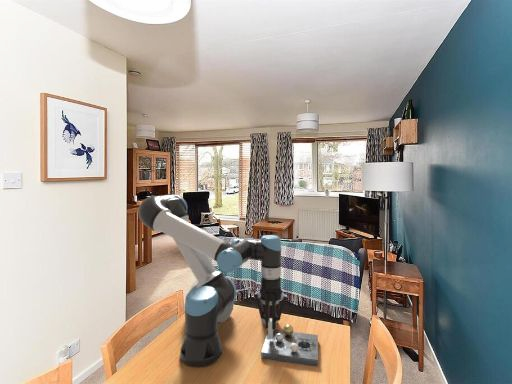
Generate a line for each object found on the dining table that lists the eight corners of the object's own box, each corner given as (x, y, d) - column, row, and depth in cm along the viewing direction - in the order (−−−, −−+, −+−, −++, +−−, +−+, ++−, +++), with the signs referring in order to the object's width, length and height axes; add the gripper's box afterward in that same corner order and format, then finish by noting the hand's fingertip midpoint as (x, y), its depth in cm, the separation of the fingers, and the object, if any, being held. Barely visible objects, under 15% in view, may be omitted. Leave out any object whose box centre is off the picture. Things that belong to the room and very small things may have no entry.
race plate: (261, 358, 106) (261, 352, 106) (268, 334, 122) (268, 329, 122) (317, 366, 102) (317, 359, 102) (317, 341, 118) (317, 335, 118)
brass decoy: (282, 336, 116) (282, 327, 116) (283, 331, 120) (284, 322, 120) (292, 338, 115) (293, 328, 115) (293, 332, 119) (293, 323, 119)
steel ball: (274, 343, 112) (274, 335, 111) (275, 338, 115) (275, 330, 115) (282, 344, 111) (283, 336, 111) (283, 339, 114) (283, 331, 114)
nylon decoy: (289, 353, 106) (289, 345, 105) (290, 348, 109) (290, 340, 108) (297, 354, 105) (298, 346, 105) (298, 349, 108) (298, 341, 108)
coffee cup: (279, 329, 126) (279, 295, 125) (256, 326, 128) (256, 293, 127) (281, 318, 136) (282, 286, 135) (260, 316, 138) (261, 284, 137)
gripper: (252, 278, 109) (251, 340, 111) (287, 281, 107) (286, 344, 108) (256, 272, 117) (255, 329, 118) (289, 274, 114) (288, 333, 116)
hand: (270, 336), depth 113 cm, fingers closed
